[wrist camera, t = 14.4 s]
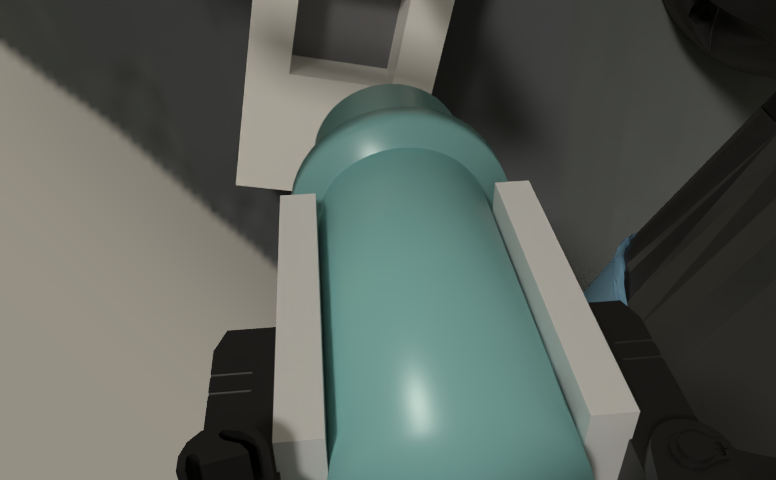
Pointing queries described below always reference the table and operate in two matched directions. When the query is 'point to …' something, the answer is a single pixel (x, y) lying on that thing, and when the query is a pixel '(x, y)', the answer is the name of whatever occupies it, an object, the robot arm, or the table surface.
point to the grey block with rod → (325, 71)
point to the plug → (425, 304)
